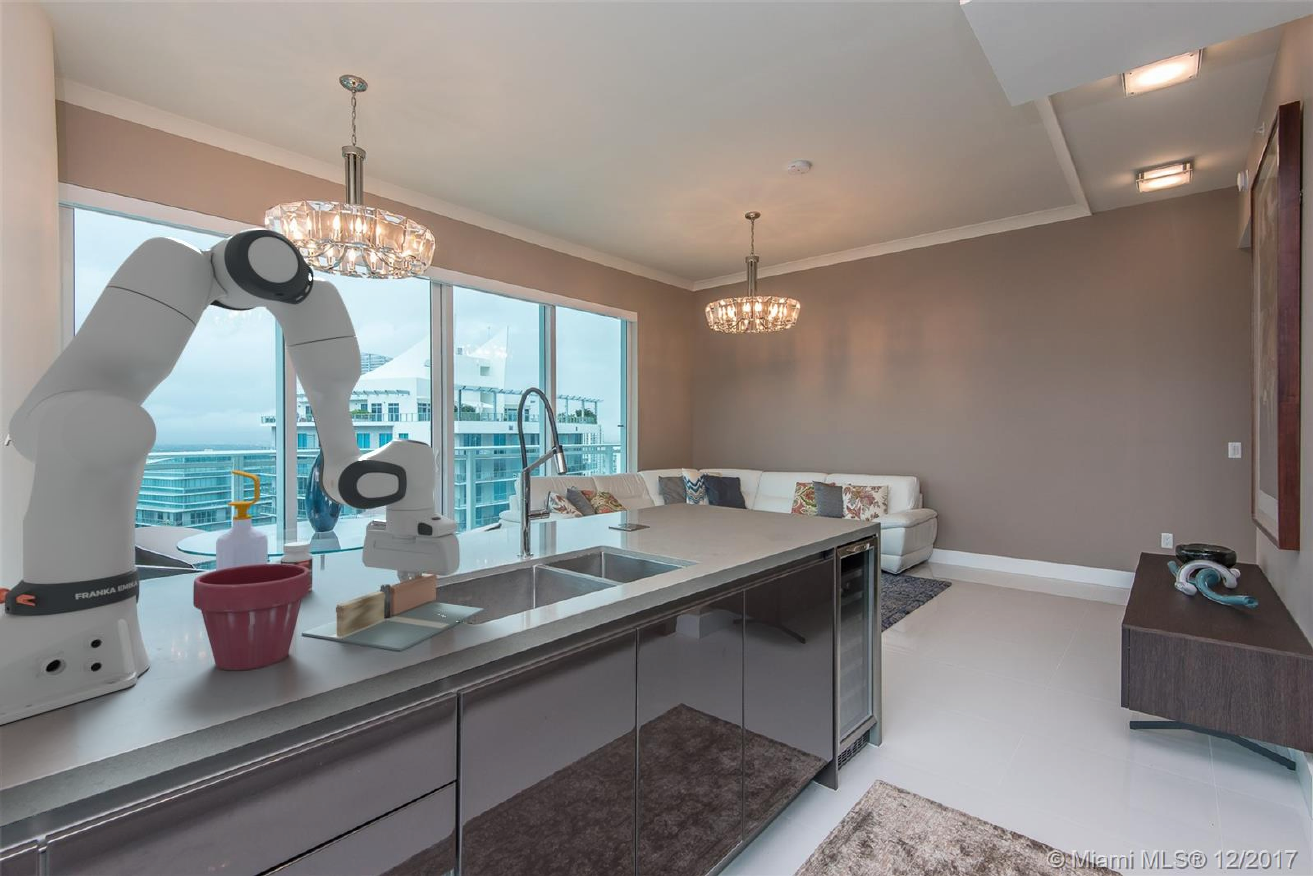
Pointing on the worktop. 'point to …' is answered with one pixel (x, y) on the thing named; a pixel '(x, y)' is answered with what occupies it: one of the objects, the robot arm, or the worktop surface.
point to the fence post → (386, 600)
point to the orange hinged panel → (412, 593)
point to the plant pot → (251, 612)
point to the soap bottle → (242, 536)
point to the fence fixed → (360, 613)
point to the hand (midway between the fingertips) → (409, 593)
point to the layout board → (401, 626)
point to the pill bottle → (298, 556)
